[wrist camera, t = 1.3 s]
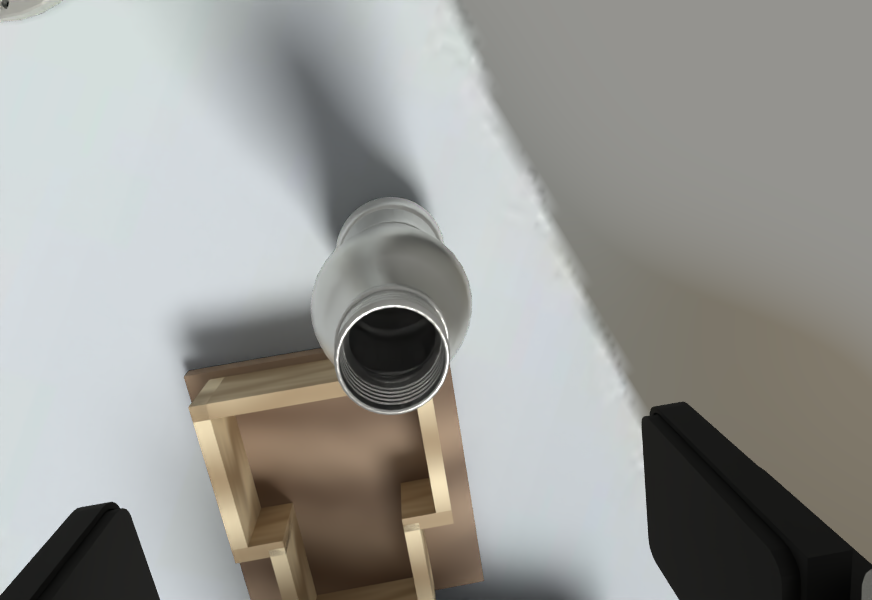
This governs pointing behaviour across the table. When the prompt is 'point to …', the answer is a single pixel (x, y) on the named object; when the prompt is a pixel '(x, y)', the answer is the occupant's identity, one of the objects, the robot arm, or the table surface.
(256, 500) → the keyhole plate
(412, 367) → the plastic bottle
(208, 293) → the table surface
